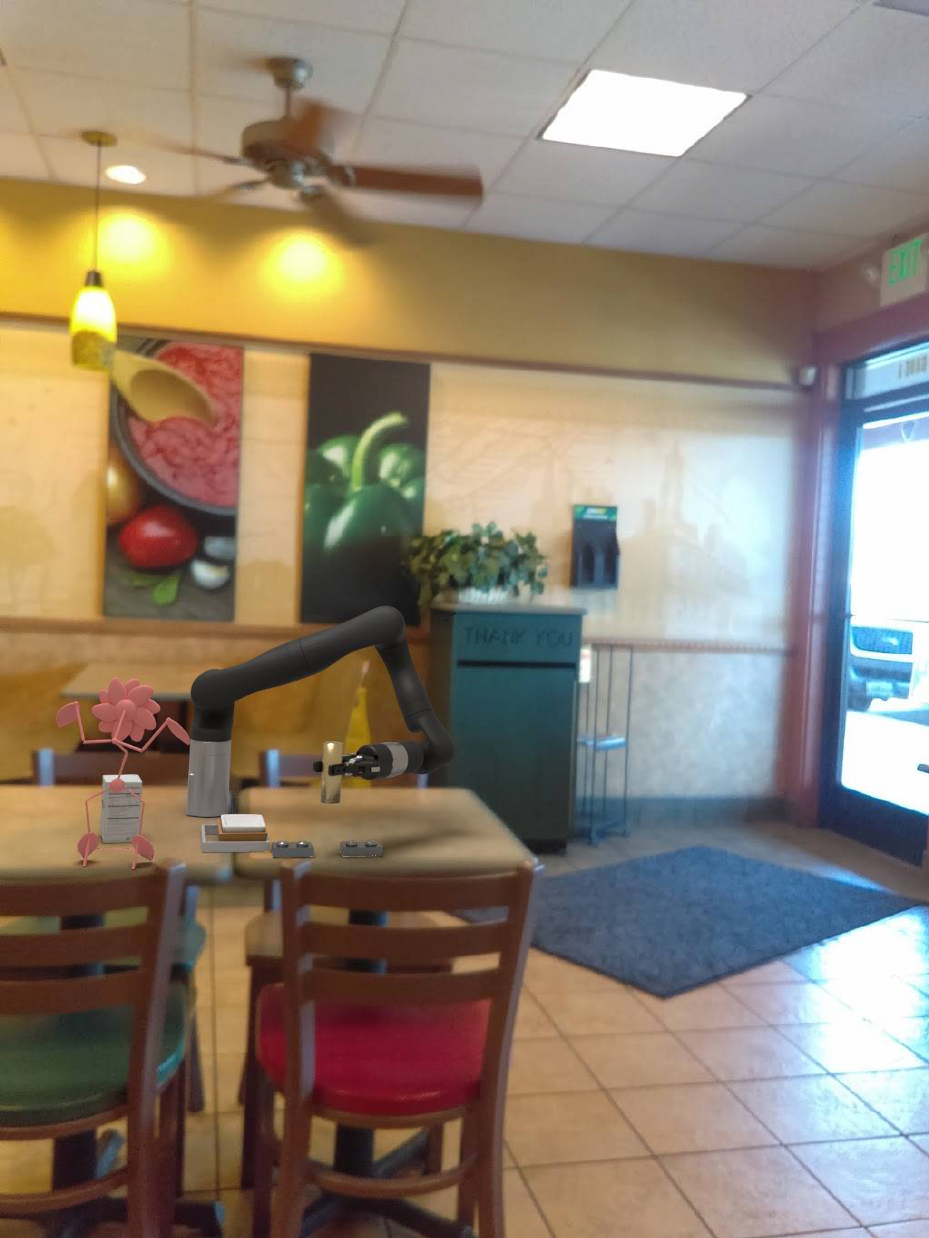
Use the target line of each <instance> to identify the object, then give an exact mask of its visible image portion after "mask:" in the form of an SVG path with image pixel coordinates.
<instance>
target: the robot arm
mask: <svg viewBox="0 0 929 1238" xmlns="http://www.w3.org/2000/svg"><path fill="white" fill-rule="evenodd" d="M405 622H406V621H405V618H404V616H403V614H402V613H401V612H400V610H398V609H397V608H395V607H393V606H389V605H381V606H376V607H374V608H372V609H370V610H368V611H366V612H364V613H362V614H360V615H357V616H355V617H353V618H351V619H350V620H349V619H348V620H347V621H345V622H342V623H340V624H338V625H334V626H330V627H327V628H324V629H322V630H319V631H316V632H313V633H311V634H307V635H304V636H300V637H299V638H295V639H293V640H289V641H286V642H284V643H282V644H279V645H277V646H274V647H272V648H271V649H269V650H266V651H264V652H263V653H261V654H259V655H257V656H254V657H253V658H251V659H250V660H248V661H244V662H242V663H240V664H237V665H236V664H235V665H232V666H228V667H224V668H221V669H219V668H211V669H208V670H205V671H203V672H202V673H200V674H199V675H198V676H197V677H196V678H195V679H194V680H193V682H192V684H191V687H190V698H191V701H192V702H193V704H194V705H193V717H192V722H191V725H190V726H191V727H190V736H189V739H190V744H189V761H188V762H189V764H188V772H187V773H188V777H187V792H186V793H187V794H186V795H187V797H186V798H187V799H186V816H193V817H202V818H204V817H206V818H207V817H208V818H213V817H214V818H215V817H221V815H226V814H228V810H229V795H230V794H229V792H230V791H229V790H230V772H231V771H230V770H231V769H230V768H231V755H232V754H231V753H232V736H233V726H234V721H235V720H234V718H235V716H234V715H235V702H237V701H239V700H241V699H244V698H245V697H247V696H250V695H252V694H255V693H258V692H262V691H265V690H271V689H274V688H277V687H281V686H284V685H288V684H293V683H294V682H298V681H301V680H303V679H306V678H308V677H312V676H314V675H316V674H320V673H321V672H324V671H325V670H326V669H328V668H330V667H331V666H333V665H334V664H335V663H337V662H338V661H340V660H341V659H343V658H345V657H346V656H347V655H350V654H352V653H354V652H357V651H359V650H363V649H366V648H369V647H372V646H373V647H374V648H375V650H376V652H377V653H378V655H379V657H380V659H381V660H382V663H383V664H384V666H385V669H386V670H387V673H388V675H389V679H390V681H391V684H392V688H393V691H394V695H395V698H396V701H397V705H398V707H399V710H400V713H401V715H402V719H403V721H404V723H405V725H406V727H407V731H409V732H410V733H412V734H419V733H423V734H424V735H425V737H426V739H425V740H423V741H421V742H419V743H416V742H415V741H411V740H403V741H395V742H392V741H388V742H385V741H384V742H379V743H368V744H364V745H362V746H360V747H359V748H358V749H357V750H356V752H352V753H347V754H343V756H342V763H340V764H332V765H329V767H328V775H329V776H337V775H342V776H343V775H344V776H352V777H354V778H356V777H361V779H363V780H365V781H376V780H381V779H382V780H383V779H387V778H393V777H397V776H400V775H406V774H415V775H427V774H431V773H433V772H435V771H437V770H439V769H441V768H442V767H444V766H446V765H448V764H449V763H451V762H452V761H453V760H454V758H455V756H456V746H455V745H456V744H455V742H454V740H453V737H451V735H450V734H449V733H448V731H447V729H445V727H444V725H443V724H442V723H441V722H440V720H439V719H438V717H437V715H435V710H434V708H433V705H432V703H431V701H430V698H429V695H428V693H427V691H426V689H425V686H424V684H423V682H422V680H421V678H420V676H419V673H418V672H417V669H416V667H415V665H414V661H413V658H412V655H411V653H410V647H409V641H408V638H407V637H408V636H407V626H406V623H405ZM321 759H323V757H322V758H321ZM312 771H313V773H322V760H320V759H319V760H315V761H313V763H312Z"/></svg>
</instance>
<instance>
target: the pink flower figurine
mask: <svg viewBox="0 0 929 1238" xmlns="http://www.w3.org/2000/svg"><path fill="white" fill-rule="evenodd" d="M140 684H141V683H140V680H139V679H138V678H132V679H129V680H128V681H127V682H126V683H125V684H124V683H123V682H122V680H120V679H119V677H113V678H112V679H111V681H110V682H109V684H108V688H107V689H103V688H102V689H101V690H99V693H98V696H99V697H98V698H99V702H100V703H99V704H95V705H94V706H92V708H91V709H90V711H91V713H92V714H93V715H94V717H96V718H97V719H99V720H101V721H100V722H99V723H98V731H101V732H102V733H111V739H95V740H94V739H93V740H86V739H85V734H84V733H85V732H84V729H83V728H84V727H83V725H82V719H81V714H80V713H81V706H80V705H79V702H78V701H73V702H69V703H67V704H65V705H64V706H62V707H61V708H60V709H59V710H58V711H57V713H56V716H55V722H56V725H57V727H58V728H59V729H60V728H62V727H65V726H67V725H69V724H72V723H73V722H74V721H75V720H77V724H78V729H79V733H80V737H81V738H80V739H81V741H82V744H83V745H86V744H100V743H112V744H113V745H116V746H117V747H118V748H120V749H121V751H123V752H124V756H123V759H122V762H121V765H120V768H119V772H118V774H117V775H118V778H116V779H114V780H112V781H111V783H110V787H109V788H107V789H105V790H103V791H102V790H101V791H100V792H97V793H96V794H93V795H92V796H90V797H88V798H87V799H85V800H84V801H85V804H84V805H85V813H86V823H87V833H85V834H83V835H82V836H81V837H80V839H79V840H78V842H77V851H75V853H79V854H80V856H81V857H82V858H83V862H82V868H83V867H84V868H86V867H87V863H88V862H87V861H88V857H89V856H90V855H92V853H93V852H94V851H96V850H97V851H100V850H102V848H101V847H99V848H98V846H99V841H100V840H99V837H98V834H97V833H95V832H94V831H92V832H91V827H90V817H89V815H90V814H89V808H88V807H89V805H88V802H89V801H90V800H92V799H94V798H95V797H97V796H99V795H102V793H103V792H105V791H107V790H109V789H111V791H113V792H115V793H119V792H121V791H123V789H125V790H126V791H128V792H129V793H131V794H132V795H133V796H135V797H136V798H137V799H139V800H140V801H142V804H141V821H140V828H139V835H138V834H137V836H136V835H134V836H133V837H132V842H131V844H132V846H133V847H132V848H129V847H125V850H134V853H133V859H132V863H131V864H132V865H131V869H132V870H135V868H136V863H137V858H138V854H139V856H141V857H143V858H144V859H146V860H148V861H150V862H152V860H153V859H154V856H155V849H154V845H153V844H152V843H151V842H150V841H149V840H148V839H147V838H146V837H145V836H144V835H142V827H143V819H144V812H145V806H146V805H145V800H143V798H142V799H141V798H139V797H138V796H137V795H135V794H134V793H132V792H131V791H130V790H128V789H127V788H126V787H125V783H124V781H123V780H121V779H120V776H121V775H122V772H123V770H124V767H125V764H126V762H127V759H128V755H129V751H128V750H127V749H126V748H129V749H131V750H134V751H137V752H139V753H141V754H143V752H144V751H146V749H147V748H148V747H149V746H150V745H151V744H152V742H153V741H154V740H155V739H156V737H158V735H159V734H160V733H161V732H162V731H163V729H165V727H166V726H167V727H168V729H169V730H170V732H171V733H172V734H173V735H174V736H175V737H176V738H177V739H179V740H180V741H182V742H183V743H184V744H186V745H187V746H190V739H191V738H190V736H189V734H188V733H187V731H186V730H185V729H184V728H183V727H182V726H181V724H179V723H178V722H177V721H176V720H174V719H171V718H170V717H167V718H166V720H165V721H164V722H163V724H162V725H161V726H159V729H157V722H156V718H155V716H154V715H155V714H157V713H159V712H160V711H161V706H160V704H159V703H158V702H156V701H155V700H153V699H151V696H153V694H154V688H153V687H152V686H150V685H147V684H146V685H144V684H143V685H140ZM155 729H157V730H156V732H155V733H154V734H153V735H152V737H150V739H149V740H148V742H146V743H145V745H144V746H142V748H140V747H137V746H133V745H131V744H129V743H126V742H123V741H124V740H125V739H126V738H128V737H130V738H131V740H132V741H133V742H136V743H137V742H141V740H142V739H143V737H144V735H145V730H147V731H153V730H155ZM125 747H126V748H125ZM106 850H124V847H120V848H119V847H118V848H113V847H111V848H110V847H109V848H107V847H106Z"/></svg>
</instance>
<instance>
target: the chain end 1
mask: <svg viewBox="0 0 929 1238" xmlns="http://www.w3.org/2000/svg"><path fill="white" fill-rule="evenodd" d="M314 849H315V848H314V844H313V843H312V842H311V841H308V840H297V841H292V842H291V841H287V840H277V841H276V842H275V841H274V842H271V850H270V853H271V852H272V853H271V856H273V857H310V856H313V857H314ZM273 857H272V858H273Z"/></svg>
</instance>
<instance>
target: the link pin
mask: <svg viewBox="0 0 929 1238" xmlns="http://www.w3.org/2000/svg"><path fill="white" fill-rule="evenodd" d="M343 751H344V742H340V741H332V740H331V741H328V740H327V741H324V742H322V758H323V759H322V758H321V759H322V772H321V784H320V786H321V787H320V788H321V789H320V803H321V804H322V803H323V804H327V805H334V804H335V805H336V804H340V803H341V798H342V796H341V795H342V776H343V775H337V776H329V775H328V767H329V765H332V764H340V763H342V756H343V755H344V754H343V753H344V752H343Z"/></svg>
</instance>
